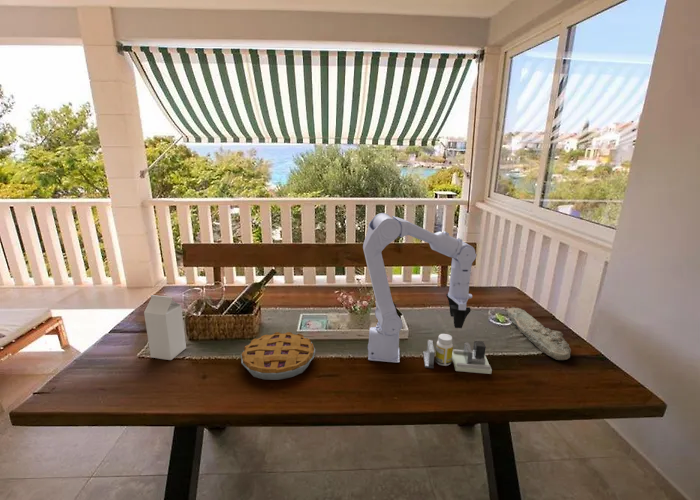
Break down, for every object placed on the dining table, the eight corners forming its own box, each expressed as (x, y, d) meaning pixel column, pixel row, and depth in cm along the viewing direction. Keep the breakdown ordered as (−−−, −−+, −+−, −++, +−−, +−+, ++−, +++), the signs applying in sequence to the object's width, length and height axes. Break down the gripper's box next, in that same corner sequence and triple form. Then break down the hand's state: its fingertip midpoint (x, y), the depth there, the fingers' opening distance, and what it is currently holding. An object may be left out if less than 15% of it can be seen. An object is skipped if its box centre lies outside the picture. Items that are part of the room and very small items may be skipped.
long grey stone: (523, 316, 141) (499, 317, 141) (524, 303, 140) (499, 305, 140) (581, 361, 107) (548, 363, 107) (582, 345, 106) (550, 347, 106)
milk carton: (171, 360, 105) (163, 302, 100) (150, 357, 106) (141, 299, 101) (186, 348, 112) (179, 292, 107) (166, 345, 113) (159, 290, 108)
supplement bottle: (449, 357, 109) (452, 333, 107) (452, 366, 104) (455, 341, 102) (434, 356, 109) (436, 332, 107) (436, 365, 105) (438, 340, 102)
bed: (455, 370, 102) (456, 364, 102) (451, 354, 110) (451, 348, 110) (491, 373, 101) (492, 367, 101) (484, 357, 109) (485, 351, 109)
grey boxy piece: (466, 364, 103) (468, 347, 101) (463, 353, 108) (465, 337, 107) (485, 366, 102) (487, 349, 101) (480, 355, 108) (482, 339, 106)
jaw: (425, 367, 104) (426, 352, 102) (423, 352, 111) (424, 338, 110) (433, 368, 103) (434, 353, 102) (430, 353, 111) (432, 339, 110)
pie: (313, 340, 118) (313, 327, 117) (317, 380, 97) (317, 365, 96) (246, 345, 115) (245, 331, 113) (235, 387, 94) (234, 371, 93)
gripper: (478, 290, 99) (474, 333, 103) (468, 273, 113) (464, 312, 117) (453, 289, 100) (449, 332, 104) (446, 272, 114) (442, 311, 118)
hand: (455, 321), depth 110 cm, fingers open, 7 cm apart
